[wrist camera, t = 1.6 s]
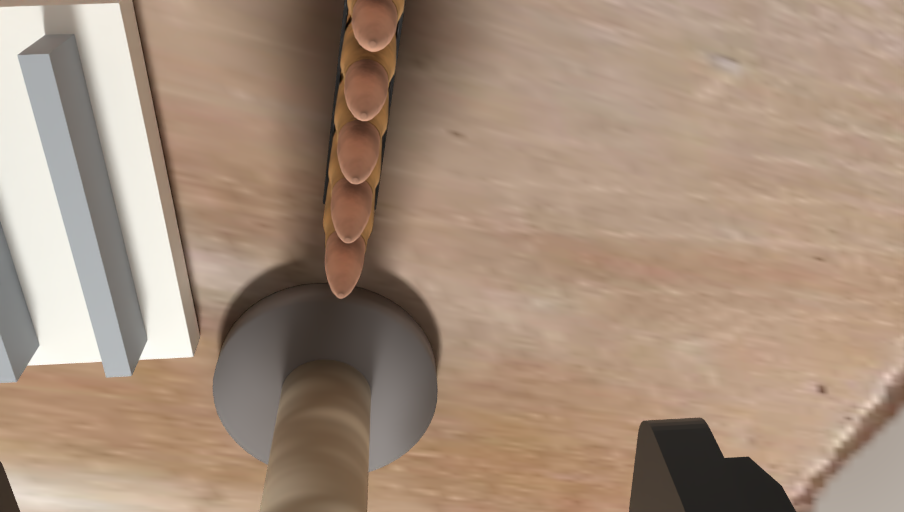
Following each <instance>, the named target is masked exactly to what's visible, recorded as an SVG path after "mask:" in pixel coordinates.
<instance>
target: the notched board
mask: <svg viewBox="0 0 904 512" xmlns="http://www.w3.org/2000/svg"><path fill="white" fill-rule="evenodd" d="M199 339H200V334H199V329H198V324H197V319H196V314H195V309H194V304H193V299H192V294H191V289H190V284H189V279H188V274H187V269H186V264H185V259H184V254H183V249H182V244H181V239H180V234H179V230H178V225H177V220H176V215H175V210H174V205H173V200H172V195H171V190H170V185H169V180H168V175H167V170H166V165H165V160H164V155H163V150H162V145H161V140H160V135H159V130H158V126H157V121H156V116H155V111H154V106H153V101H152V96H151V91H150V86H149V81H148V76H147V71H146V66H145V61H144V56H143V51H142V46H141V41H140V36H139V31H138V26H137V21H136V17H135V12H134V7H133V2H132V0H0V383H8V382H17V381H18V379H19V378H20V376H21V374H22V373H23V371H24V370H25V368H26V366H27V365H46V364H65V363H85V362H102V364H103V367H104V371H105V375H106V377H122V376H132V374H133V372H134V370H135V367H136V365H137V363H138V361H139V360H143V359H162V358H182V357H193V356H194V353H195V350H196V348H197V345H198V342H199Z"/></svg>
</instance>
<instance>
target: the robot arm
mask: <svg viewBox="0 0 904 512" xmlns="http://www.w3.org/2000/svg"><path fill="white" fill-rule="evenodd" d="M0 512H20V510H19V507H18V505H17V502H16V499H15V497H14V494H13V491H12V489H11V486H10V483H9V481H8V478H7V475H6V473H5V470H4V467H3V465H2V463H1V462H0ZM629 512H796V511H795V509H794V507H793V505H792V504H791V502H790V500H789V498H788V496H787V495H786V493H785V491H784V489H783V487H782V486H781V485H780V484H779V483H778V482H777V481H775V480H774V479H773V478H772V477H771V476H770V475H769V474H768V473H766V472H765V471H764V470H763V469H762V468H761V467H760V466H759V465H757V464H756V463H755V462H754V461H753V460H752V459H751V458H749V457H735V458H724V456H723V454H722V452H721V450H720V448H719V446H718V444H717V442H716V440H715V438H714V436H713V434H712V432H711V430H710V428H709V426H708V425H707V423H706V422H705V420H703V419H702V418H684V419H666V420H648V421H643V422H642V423H641V425H640V428H639V432H638V439H637V448H636V456H635V465H634V473H633V481H632V490H631V498H630V507H629Z"/></svg>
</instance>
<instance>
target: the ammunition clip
mask: <svg viewBox="0 0 904 512" xmlns="http://www.w3.org/2000/svg"><path fill="white" fill-rule="evenodd" d="M404 7H405V0H345V2H344V11H343V20H342V30H341V39H340V48H339V57H338V67H337V76H336V85H335V94H334V104H333V113H332V122H331V131H330V141H329V150H328V159H327V168H326V178H325V187H324V196H323V204H325V209H324V216H323V228H324V231H325V235H326V238H325V248H326V252H325V271H326V276H327V279H328V283H329V285H330V288H331V290H332V292H333V293H334V294H335V295H336V297H338V298H340V299H342V298H345V297H346V296H347V295H349V294H350V293H351V292H352V290H353V288H354V287H355V285H356V283H357V282H358V279H359V277H360V275H361V272H362V268H363V264H364V257H365V252H366V246H367V240H368V238H369V236H370V234H371V232H372V228H373V221H374V210H375V209H376V204H377V197H378V190H379V183H380V176H381V169H382V162H383V155H384V148H385V141H386V134H387V127H388V120H389V113H390V106H391V99H392V92H393V85H394V78H395V71H396V64H397V56H398V49H399V42H400V35H401V28H402V21H403V14H404Z"/></svg>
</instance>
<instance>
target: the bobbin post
mask: <svg viewBox="0 0 904 512" xmlns="http://www.w3.org/2000/svg"><path fill="white" fill-rule="evenodd" d="M213 396H214V403H215V407H216V410H217V413H218V416H219V418H220V420H221V422H222V424H223V426H224V427H225V429H226V430H227V432H228V433H229V435H230V436H231V437H232V438H233V439H234V440H235V441H236V443H237V444H238V445H240V446H241V447H242V448H243V449H244V450H245V451H246V452H248V453H249V454H251V455H252V456H254V457H255V458H256V459H258V460H260V461H262V462H264V463H265V464H267V465H268V467H267V473H266V478H265V484H264V489H263V495H262V500H261V505H260V511H259V512H367V500H368V472H370V471H373V470H376V469H379V468H381V467H383V466H385V465H388V464H389V463H391V462H393V461H395V460H396V459H398V458H400V457H401V456H402V455H404V454H405V453H406V452H408V451H409V450H410V449H411V448H412V447H413V446H414V445H415V444H416V443H417V442H418V441H419V439H420V438H421V437H422V436H423V434H424V433H425V431H426V430H427V428H428V426H429V424H430V423H431V420H432V418H433V415H434V412H435V408H436V403H437V376H436V365H435V358H434V354H433V351H432V347H431V345H430V343H429V341H428V338H427V336H426V335H425V333H424V332H423V330H422V329H421V327H420V326H419V325H418V323H417V322H416V321H415V320H414V319H413V318H412V317H411V316H410V315H409V314H408V313H407V312H406V311H404V310H403V309H402V308H401V307H399V306H398V305H396V304H395V303H393V302H392V301H390V300H389V299H387V298H385V297H383V296H381V295H379V294H376V293H374V292H371V291H368V290H365V289H362V288H358V287H354V288H353V290H352V292H351V293H350V294H349V295H347V296H346V297H345V298H342V299H340V298H338V297H336V295H335V294H334V293H333V292H332V290H331V288H330V285H329V283H317V284H307V285H301V286H296V287H291V288H288V289H285V290H282V291H279V292H276V293H274V294H272V295H270V296H268V297H266V298H264V299H262V300H260V301H259V302H257V303H256V304H254V305H253V306H251V307H250V308H249V309H248V310H247V311H246V312H245V313H243V314H242V315H241V316H240V317H239V319H238V320H237V321H236V322H235V323H234V325H233V326H232V328H231V329H230V331H229V333H228V334H227V336H226V338H225V341H224V343H223V346H222V349H221V352H220V355H219V359H218V362H217V365H216V369H215V373H214V378H213Z"/></svg>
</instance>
